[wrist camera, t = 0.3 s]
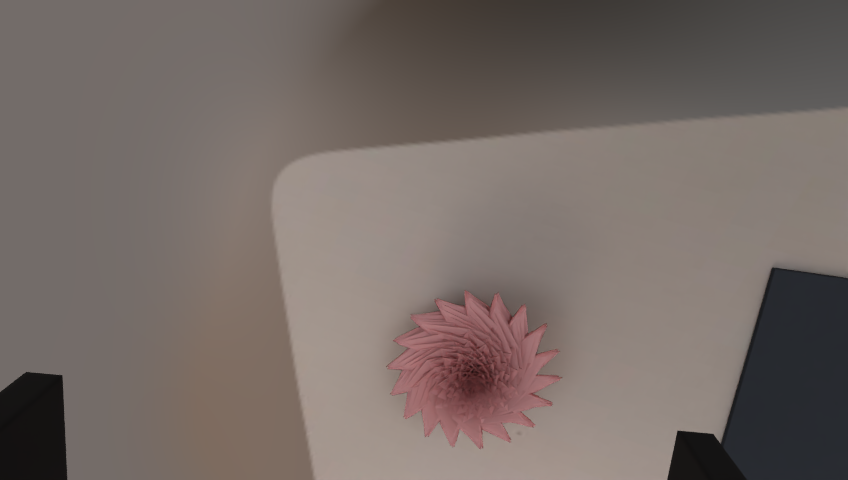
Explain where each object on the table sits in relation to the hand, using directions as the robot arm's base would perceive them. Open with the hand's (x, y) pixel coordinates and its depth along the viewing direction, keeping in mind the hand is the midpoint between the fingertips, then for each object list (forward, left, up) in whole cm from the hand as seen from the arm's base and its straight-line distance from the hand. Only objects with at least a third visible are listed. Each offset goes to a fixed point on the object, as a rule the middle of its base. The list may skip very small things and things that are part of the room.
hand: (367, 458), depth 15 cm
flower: (+5, +4, -20) cm, 21 cm away
